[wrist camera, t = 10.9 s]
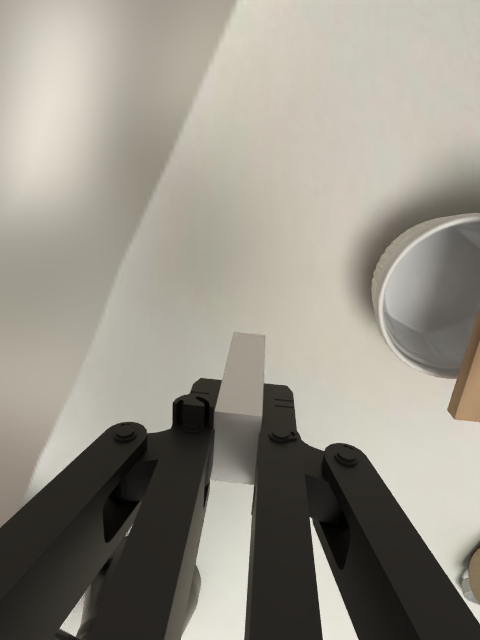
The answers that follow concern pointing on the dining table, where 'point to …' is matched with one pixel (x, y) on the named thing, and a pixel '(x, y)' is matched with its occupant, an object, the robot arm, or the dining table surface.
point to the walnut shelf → (468, 381)
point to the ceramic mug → (473, 580)
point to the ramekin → (430, 293)
